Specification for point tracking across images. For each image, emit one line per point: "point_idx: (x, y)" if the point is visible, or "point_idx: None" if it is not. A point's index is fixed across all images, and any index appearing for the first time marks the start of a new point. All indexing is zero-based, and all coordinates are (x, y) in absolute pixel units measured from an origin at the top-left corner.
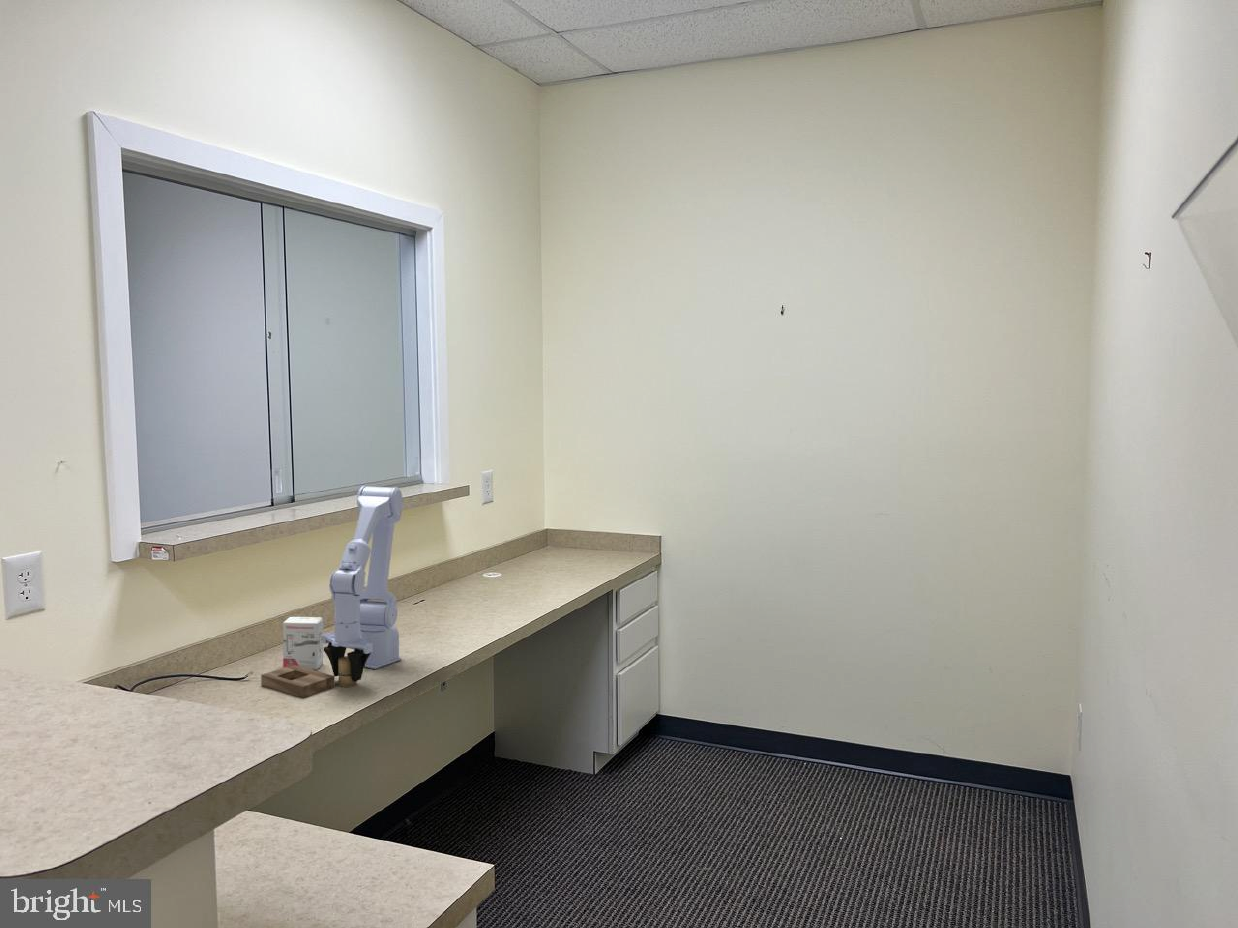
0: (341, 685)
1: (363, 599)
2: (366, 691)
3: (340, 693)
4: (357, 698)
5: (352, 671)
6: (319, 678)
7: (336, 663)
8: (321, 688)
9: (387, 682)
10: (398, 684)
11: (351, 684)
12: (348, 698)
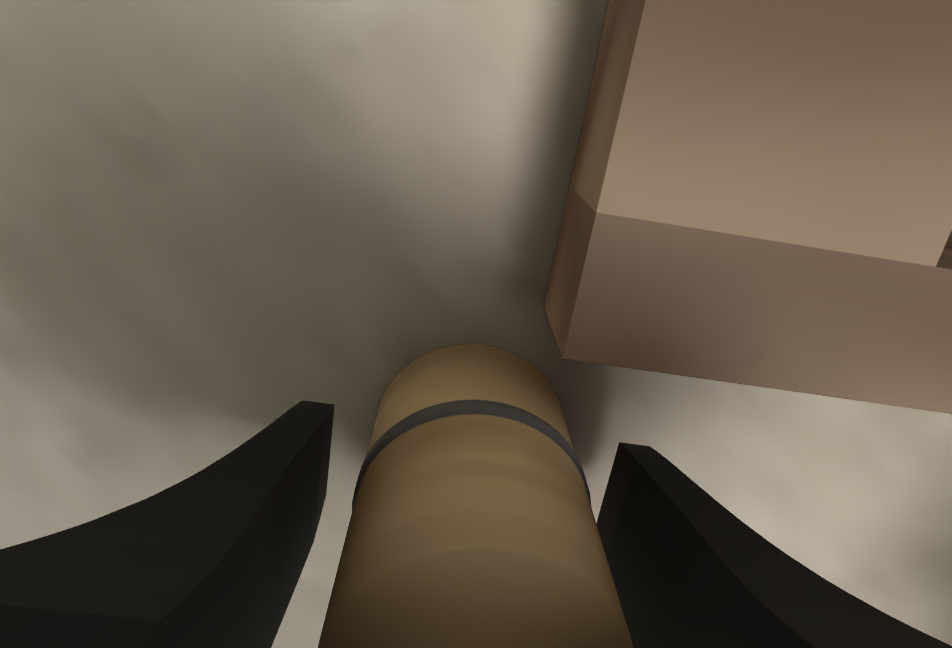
0: (475, 346)
1: None
2: (114, 330)
3: (321, 144)
4: (5, 88)
5: (265, 452)
6: (699, 174)
7: (673, 572)
8: (591, 105)
9: None
10: None
11: (383, 403)
12: (98, 34)
